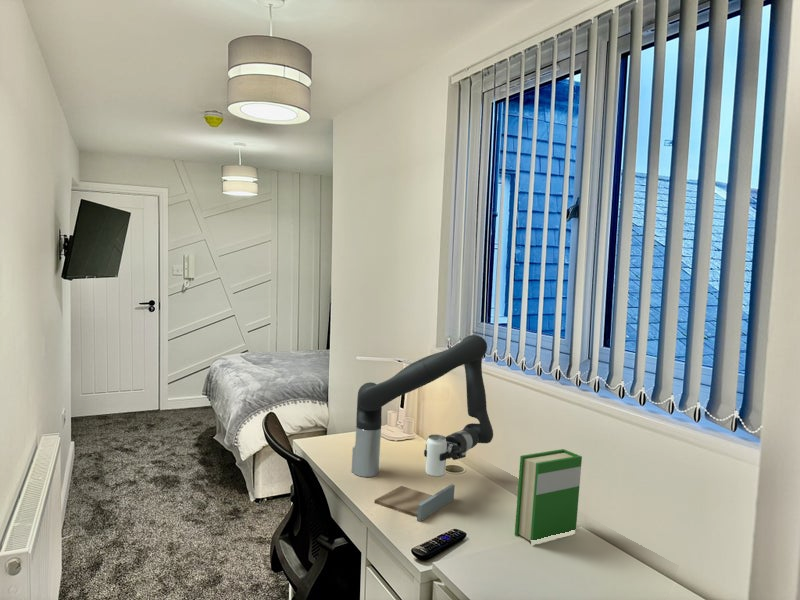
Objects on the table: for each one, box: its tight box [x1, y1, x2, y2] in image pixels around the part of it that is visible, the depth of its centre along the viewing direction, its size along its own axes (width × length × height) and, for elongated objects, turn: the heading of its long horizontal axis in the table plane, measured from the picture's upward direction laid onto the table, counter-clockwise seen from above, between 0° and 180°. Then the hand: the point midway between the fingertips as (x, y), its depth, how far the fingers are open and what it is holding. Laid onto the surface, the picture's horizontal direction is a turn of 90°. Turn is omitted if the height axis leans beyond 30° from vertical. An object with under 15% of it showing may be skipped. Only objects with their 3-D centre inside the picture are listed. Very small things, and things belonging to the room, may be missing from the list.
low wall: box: [416, 483, 456, 522], centre depth 187 cm, size 1×22×5 cm, turn 147°
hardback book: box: [514, 448, 583, 541], centre depth 173 cm, size 18×7×24 cm, turn 121°
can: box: [425, 434, 447, 478], centre depth 188 cm, size 6×6×12 cm
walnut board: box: [374, 485, 434, 518], centre depth 192 cm, size 16×16×1 cm
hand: (433, 455), depth 186 cm, fingers closed on can, 5 cm apart
